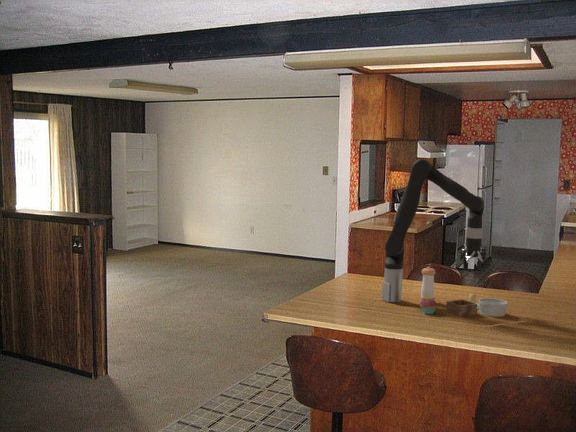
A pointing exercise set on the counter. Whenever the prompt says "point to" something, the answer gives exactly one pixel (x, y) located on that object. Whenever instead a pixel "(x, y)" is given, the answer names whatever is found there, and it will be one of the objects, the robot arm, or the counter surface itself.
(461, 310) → the walnut box
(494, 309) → the ramekin
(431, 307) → the cupcake
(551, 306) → the counter surface
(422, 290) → the pepper shaker
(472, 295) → the lid
